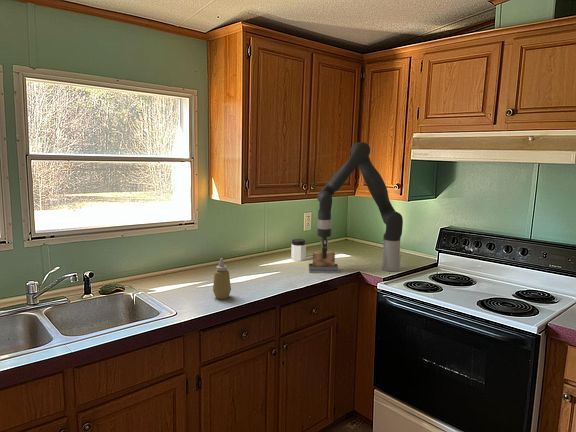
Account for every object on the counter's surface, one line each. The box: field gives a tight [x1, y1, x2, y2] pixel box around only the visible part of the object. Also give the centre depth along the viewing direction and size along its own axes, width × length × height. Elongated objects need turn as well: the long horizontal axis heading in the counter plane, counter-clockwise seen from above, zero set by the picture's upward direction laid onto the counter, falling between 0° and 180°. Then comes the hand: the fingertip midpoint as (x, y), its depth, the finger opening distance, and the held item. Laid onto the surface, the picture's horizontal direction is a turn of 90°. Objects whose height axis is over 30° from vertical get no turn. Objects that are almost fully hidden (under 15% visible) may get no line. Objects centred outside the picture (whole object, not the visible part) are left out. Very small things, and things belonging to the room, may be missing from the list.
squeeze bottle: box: [212, 257, 232, 300], centre depth 191 cm, size 8×8×18 cm
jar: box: [290, 238, 307, 262], centre depth 260 cm, size 9×8×12 cm
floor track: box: [308, 262, 340, 274], centre depth 236 cm, size 16×9×3 cm, turn 88°
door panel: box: [312, 251, 336, 267], centre depth 235 cm, size 12×3×9 cm, turn 88°
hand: (324, 256), depth 235 cm, fingers open, 8 cm apart
